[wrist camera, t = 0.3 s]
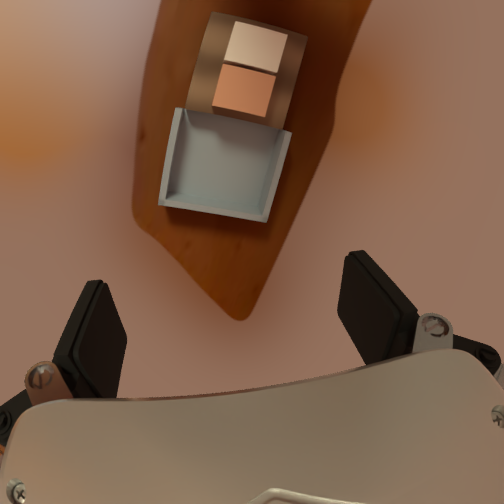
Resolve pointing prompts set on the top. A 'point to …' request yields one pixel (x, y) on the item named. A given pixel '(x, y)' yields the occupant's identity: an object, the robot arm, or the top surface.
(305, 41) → the walnut board
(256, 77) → the terracotta tile
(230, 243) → the top surface
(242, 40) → the cream tile
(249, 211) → the tray
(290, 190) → the top surface
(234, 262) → the top surface
